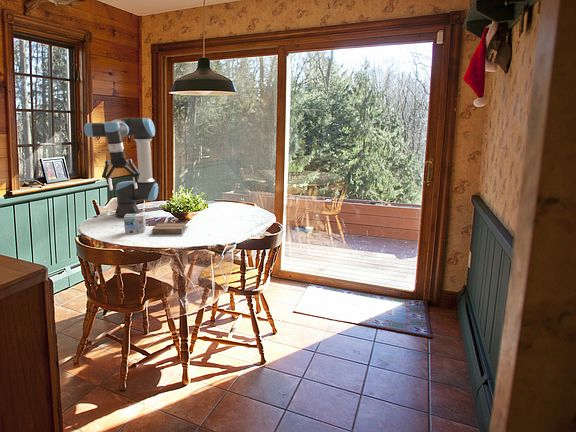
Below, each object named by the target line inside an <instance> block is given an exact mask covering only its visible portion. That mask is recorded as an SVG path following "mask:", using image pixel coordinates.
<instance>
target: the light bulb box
mask: <svg viewBox="0 0 576 432" xmlns="http://www.w3.org/2000/svg"><path fill="white" fill-rule="evenodd" d="M123 222H124V223H123V225H124V235H126V234H141V233H142V234H143V233H145V232H146V230H147V226H146V225H147V224H146V213H139V214H126V215H125V216H124V218H123Z"/></svg>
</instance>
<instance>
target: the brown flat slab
mask: <svg viewBox="0 0 576 432" xmlns="http://www.w3.org/2000/svg"><path fill="white" fill-rule="evenodd" d="M185 226H186V228H185V230H184V231H183V233H182V234H152V232H151V233H150V234H149V236H148V238H161V237H162V238H166V237H167V238H169V237H170V238H174V237H175V238H176V237H178V238H179V237H182V238H183V235H184V234H185V232H186V231H187V229H188V228H189V225H185Z"/></svg>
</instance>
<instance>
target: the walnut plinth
mask: <svg viewBox="0 0 576 432" xmlns="http://www.w3.org/2000/svg"><path fill="white" fill-rule="evenodd" d="M186 226H187V225H186V223H185V222H181V223H180V222H179V223H178V222H176V223H175V222H174V223H173V222H171V223H170V222H169V223H168V222H160V223H159V222H158V223H156V224H155V225H154V226H153V227H152V229H151V233H152V234H182V233H183V231H184V230H185V228H186Z"/></svg>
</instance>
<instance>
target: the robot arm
mask: <svg viewBox="0 0 576 432" xmlns="http://www.w3.org/2000/svg"><path fill="white" fill-rule="evenodd" d="M83 127H84V128H83V130H84V131H83V132H84V134H85V137H88V138H89V137H90V138H106V140H107V146H108V151H109V157H110V160H109V159H107V160H105V161H104V167H103V172H102V175H101V177H102V178H103V179H105V181H106V185H108V187H109V191H113V190H114V186H113V183H112V178H111V175H112V174H113V172H114V171H115V169H124V170H126V171H127V172H128V173H129V174H130V175H131V176H133V177H132V180H126V181H120V182H117V183H116V185H115V192H116V193H115V194H116V202H117V206H116V209H115V211H114V212H115V213H114V215H115V217H116V218H120V219H121V218H122V219H124V216H125V215H126V214H140V211H139V208H138V206H137V202H136V201H147V202H149V201H155V200H156V199H157V198H158V194H159V183H157V182H156V180H155V178H153V165H152V164H153V163H152V150H151V148H152V147H151V141H152V140H153V137H155V134H156V128H155V124H154V122H153V120H152V119H151V118H148V117H122V118H116V119H113V120H111V121H105V122H103V121H102V122H87V123H85V125H84V126H83ZM124 137H133V141H135V143H136V154H137V166H136V165H135V164H134V162H133V159H132V158H129V159H127V158H126V153H125V150H124V149H125V147H124V142H123V138H124ZM128 164H129V165H128ZM110 165H112V166H111V168H110V170H109V167H110ZM130 167H131V168H130ZM108 170H109V171H108Z"/></svg>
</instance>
